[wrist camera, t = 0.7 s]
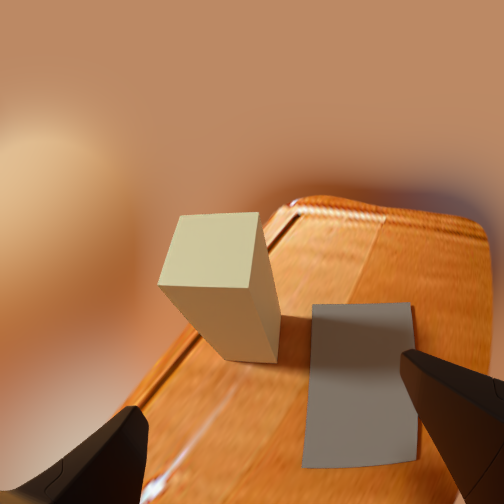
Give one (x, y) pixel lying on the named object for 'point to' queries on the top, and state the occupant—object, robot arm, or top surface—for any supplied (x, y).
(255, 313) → the block
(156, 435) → the top surface
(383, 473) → the top surface
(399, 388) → the mat
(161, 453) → the top surface
